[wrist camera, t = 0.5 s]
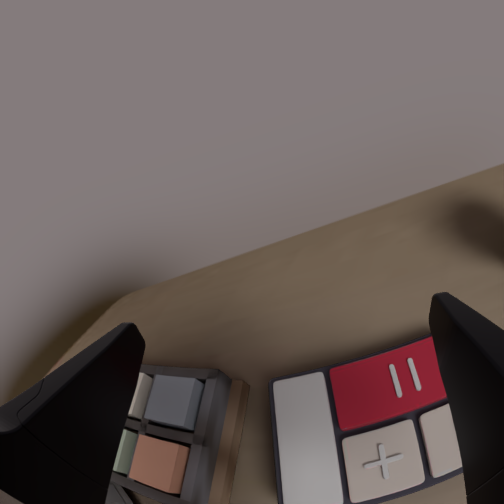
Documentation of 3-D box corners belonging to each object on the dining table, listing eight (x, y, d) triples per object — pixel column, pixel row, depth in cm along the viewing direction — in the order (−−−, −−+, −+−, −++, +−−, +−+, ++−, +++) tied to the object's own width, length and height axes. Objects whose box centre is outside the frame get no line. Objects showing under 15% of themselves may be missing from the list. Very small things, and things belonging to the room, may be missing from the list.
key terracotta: (186, 494, 16) (168, 492, 15) (146, 480, 18) (128, 477, 16) (195, 449, 19) (179, 444, 17) (156, 440, 20) (139, 434, 19)
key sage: (134, 475, 18) (116, 471, 17) (105, 462, 20) (87, 457, 18) (143, 436, 21) (126, 430, 19) (114, 427, 22) (98, 420, 21)
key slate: (199, 432, 20) (183, 426, 18) (160, 424, 21) (143, 417, 20) (209, 387, 22) (195, 378, 21) (171, 384, 24) (156, 374, 23)
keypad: (226, 513, 16) (200, 515, 14) (108, 471, 22) (79, 463, 19) (249, 385, 24) (229, 369, 22) (135, 376, 30) (111, 360, 27)
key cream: (147, 421, 22) (131, 414, 20) (118, 413, 23) (102, 405, 22) (158, 382, 25) (143, 373, 23) (129, 378, 26) (114, 368, 25)
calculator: (505, 450, 9) (275, 521, 12) (483, 457, 12) (290, 515, 15) (458, 317, 18) (263, 375, 20) (447, 342, 20) (279, 392, 23)
